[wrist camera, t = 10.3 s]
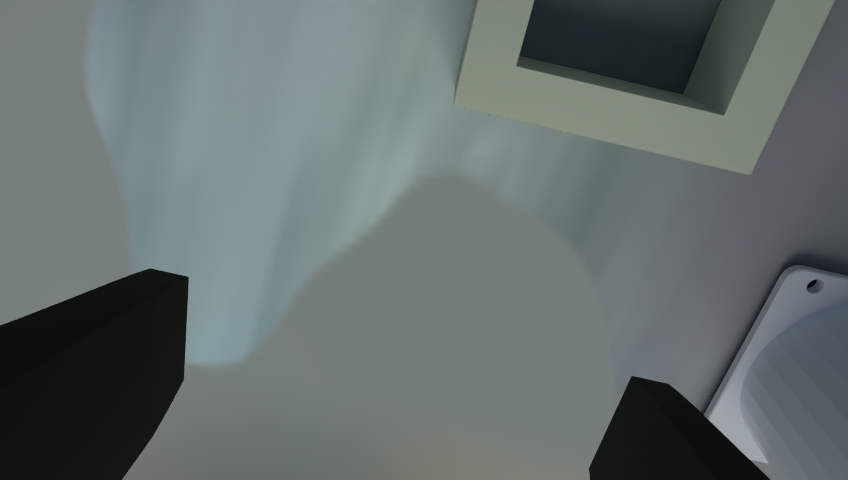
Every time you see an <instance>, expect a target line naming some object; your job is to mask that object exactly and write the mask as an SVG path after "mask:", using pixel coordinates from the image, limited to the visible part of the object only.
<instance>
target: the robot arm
mask: <svg viewBox="0 0 848 480" xmlns="http://www.w3.org/2000/svg"><path fill="white" fill-rule="evenodd" d="M813 280H817V282H816V283H815V284H814V286H812V287H809V288H807V285H808V284H809V283H810V282H811V281H813ZM188 282H189V277H186V276H182V275H177V274H173V273H168V272H164V271H159V270H155V269H147V270H144V271H141V272H138V273H135V274H132V275H129V276H127V277H124V278H121V279H119V280H116V281H114V282H111V283H108V284H106V285H104V286H101V287H98V288H96V289H93V290H91V291H88V292H86V293H83V294H81V295H78V296H76V297H74V298H71V299H68V300H66V301H63V302H61V303H58V304H55V305H53V306H50V307H48V308H45V309H42V310H40V311H37V312H35V313H32V314H30V315H27V316H25V317H22V318H19V319H17V320H14V321H11V322H9V323H6V324H3V325H0V480H122V479H123V477H124V476H125V475H126V473H127V472H128V470H129V469H130V468H131V466H132V465H133V463H134V462H135V461H136V459H137V458H138V456H139V455H140V454H141V452H142V451H143V449H144V448H145V447H146V445H147V443H148V442H149V441H150V439H151V438H152V437H153V435H154V433H155V432H156V430H157V428H158V426H159V425H160V423H161V421H162V419H163V417H164V416H165V414H166V412H167V410H168V408H169V406H170V405H171V403H172V401H173V399H174V397H175V395H176V393H177V391H178V390H179V388H180V386H181V384H182V382H183V380H184V364H185V343H186V323H187V302H188ZM749 459H750V460H754V461H759V462H763V463H768V464H770V466H771V468H772V469H773V471H774V472H775V474H776V476H777V477H778V479H779V480H848V276H847V275H842V274H838V273H834V272H829V271H825V270H821V269H816V268H812V267H808V266H803V265H794V266H791V267H789V268H787V269H786V270H784V271H783V273H782V274H781V275H780V277H779V279H778V281H777V283H776V284H775V286H774V288H773V290H772V292H771V293H770V295H769V297H768V299H767V301H766V303H765V304H764V306H763V308H762V310H761V312H760V313H759V315H758V317H757V319H756V321H755V323H754V324H753V326H752V328H751V330H750V332H749V333H748V335H747V337H746V339H745V341H744V343H743V344H742V346H741V348H740V350H739V352H738V353H737V355H736V357H735V359H734V361H733V363H732V364H731V366H730V368H729V370H728V372H727V373H726V375H725V377H724V379H723V381H722V383H721V384H720V386H719V388H718V390H717V392H716V393H715V395H714V397H713V399H712V401H711V403H710V404H709V406H708V408H707V410H706V412H705V413H704V415H703V414H702V413H701V412H700V411H699V410H698V409H697V408H696V407H695V406H693V405H692V404H691V403H690V402H689V401H688V400H687V399H686V398H685V397H683V396H682V395H681V394H680V393H679V392H678V391H676V390H675V389H674V388H673V387H672V386H670V385H669V384H666V383H661V382H657V381H652V380H648V379H644V378H639V377H635V376H632V377H631V379H630V381H629V383H628V385H627V387H626V390H625V392H624V394H623V396H622V398H621V400H620V403H619V405H618V407H617V409H616V411H615V413H614V415H613V418H612V420H611V422H610V424H609V426H608V428H607V431H606V433H605V435H604V437H603V439H602V441H601V444H600V446H599V448H598V450H597V452H596V454H595V456H594V459H593V461H592V463H591V465H590V467H589V473H590V480H770V479H769V478H768V477H767V476H766V475H765V474H764V473H763V472H762V471H761V470H760V469H759V468H758V467H757V466H756V465H755V464H754V463H753V462H752V461H750V460H749Z"/></svg>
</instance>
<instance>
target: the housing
mask: <svg viewBox="0 0 848 480" xmlns="http://www.w3.org/2000/svg"><path fill="white" fill-rule="evenodd" d="M834 1H835V0H721V2H720V4H719V7H718V9H717V12H716V14H715V17H714V19H713V22H712V24H711V26H710V29H709V31H708V34H707V36H706V39H705V41H704V44H703V46H702V49H701V51H700V54H699V56H698V59H697V61H696V63H695V66H694V68H693V71H692V73H691V76H690V78H689V81H688V83H687V86H686V88H685V91H684V93H683V94H679V93H674V92H670V91H666V90H662V89H657V88H653V87H649V86H645V85H641V84H636V83H632V82H628V81H624V80H620V79H615V78H611V77H607V76H603V75H599V74H594V73H590V72H586V71H582V70H578V69H573V68H569V67H565V66H561V65H557V64H552V63H548V62H544V61H540V60H536V59H531V58H527V57H523V56H519V54H520V50H521V47H522V43H523V40H524V36H525V32H526V29H527V25H528V22H529V18H530V14H531V11H532V7H533V4H534V0H476V1H475V5H474V9H473V13H472V18H471V22H470V26H469V30H468V34H467V39H466V43H465V47H464V51H463V56H462V60H461V64H460V68H459V72H458V77H457V81H456V85H455V93H454V102H453V106H457V107H461V108H465V109H469V110H474V111H478V112H482V113H486V114H491V115H495V116H499V117H504V118H508V119H512V120H516V121H521V122H525V123H529V124H533V125H538V126H542V127H546V128H550V129H555V130H559V131H563V132H567V133H572V134H576V135H580V136H585V137H589V138H593V139H597V140H602V141H606V142H610V143H614V144H619V145H623V146H627V147H631V148H636V149H640V150H644V151H648V152H653V153H657V154H661V155H666V156H670V157H674V158H678V159H683V160H687V161H691V162H695V163H700V164H704V165H708V166H712V167H717V168H721V169H725V170H729V171H734V172H738V173H742V174H747V175H751V173H752V171H753V169H754V167H755V165H756V163H757V161H758V159H759V157H760V154H761V152H762V150H763V148H764V146H765V144H766V142H767V140H768V138H769V136H770V134H771V132H772V130H773V128H774V125H775V123H776V121H777V119H778V117H779V115H780V113H781V111H782V109H783V107H784V105H785V103H786V101H787V99H788V97H789V94H790V92H791V90H792V88H793V86H794V84H795V82H796V80H797V78H798V76H799V74H800V72H801V70H802V68H803V66H804V63H805V61H806V59H807V57H808V55H809V53H810V51H811V49H812V47H813V45H814V43H815V41H816V39H817V37H818V35H819V32H820V30H821V28H822V26H823V24H824V22H825V20H826V18H827V16H828V14H829V12H830V10H831V8H832V6H833V4H834Z"/></svg>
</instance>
